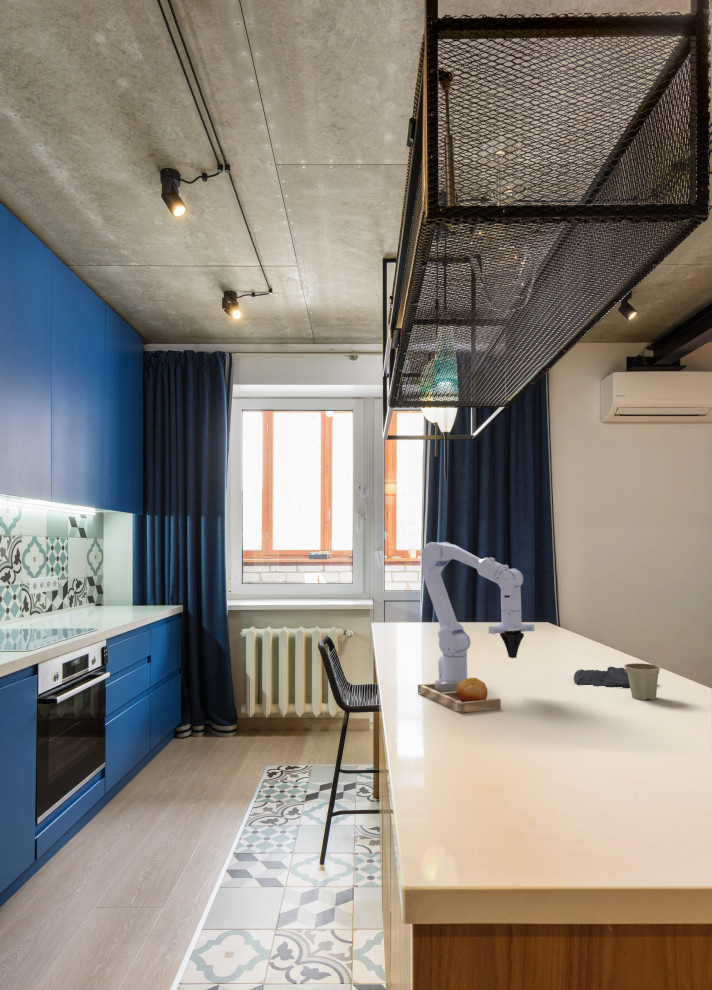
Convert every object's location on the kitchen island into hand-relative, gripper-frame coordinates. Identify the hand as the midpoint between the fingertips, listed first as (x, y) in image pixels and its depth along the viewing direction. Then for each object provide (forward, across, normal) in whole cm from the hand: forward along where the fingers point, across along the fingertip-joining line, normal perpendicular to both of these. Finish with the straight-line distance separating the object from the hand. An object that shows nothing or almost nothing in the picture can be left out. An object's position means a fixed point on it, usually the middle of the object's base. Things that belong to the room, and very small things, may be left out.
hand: (512, 657), depth 191 cm
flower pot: (+10, +29, -20) cm, 37 cm away
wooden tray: (+10, -20, -2) cm, 22 cm away
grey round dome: (+10, -20, +3) cm, 23 cm away
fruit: (+10, -19, -8) cm, 23 cm away
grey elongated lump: (+11, +35, -1) cm, 37 cm away
